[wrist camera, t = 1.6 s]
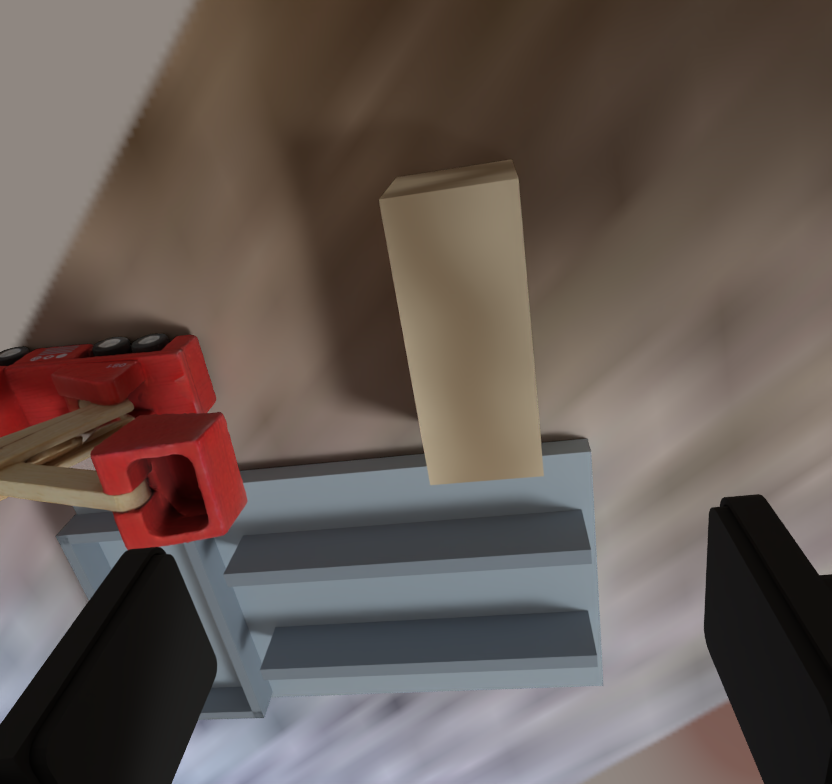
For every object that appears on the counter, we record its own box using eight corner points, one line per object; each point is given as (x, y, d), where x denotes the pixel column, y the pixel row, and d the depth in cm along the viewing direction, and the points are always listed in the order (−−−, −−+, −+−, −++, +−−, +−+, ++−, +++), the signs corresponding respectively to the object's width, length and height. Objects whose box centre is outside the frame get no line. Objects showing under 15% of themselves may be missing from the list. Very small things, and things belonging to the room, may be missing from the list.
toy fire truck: (-22, 347, 27) (-259, 479, 18) (290, 319, 25) (190, 450, 16) (10, 416, 28) (-195, 568, 20) (307, 395, 26) (224, 551, 18)
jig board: (587, 438, 26) (601, 488, 23) (599, 668, 32) (612, 733, 29) (79, 485, 30) (32, 534, 26) (174, 685, 35) (145, 744, 32)
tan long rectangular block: (511, 158, 22) (518, 178, 18) (534, 413, 26) (543, 476, 22) (396, 176, 22) (378, 199, 18) (437, 422, 27) (430, 485, 23)
